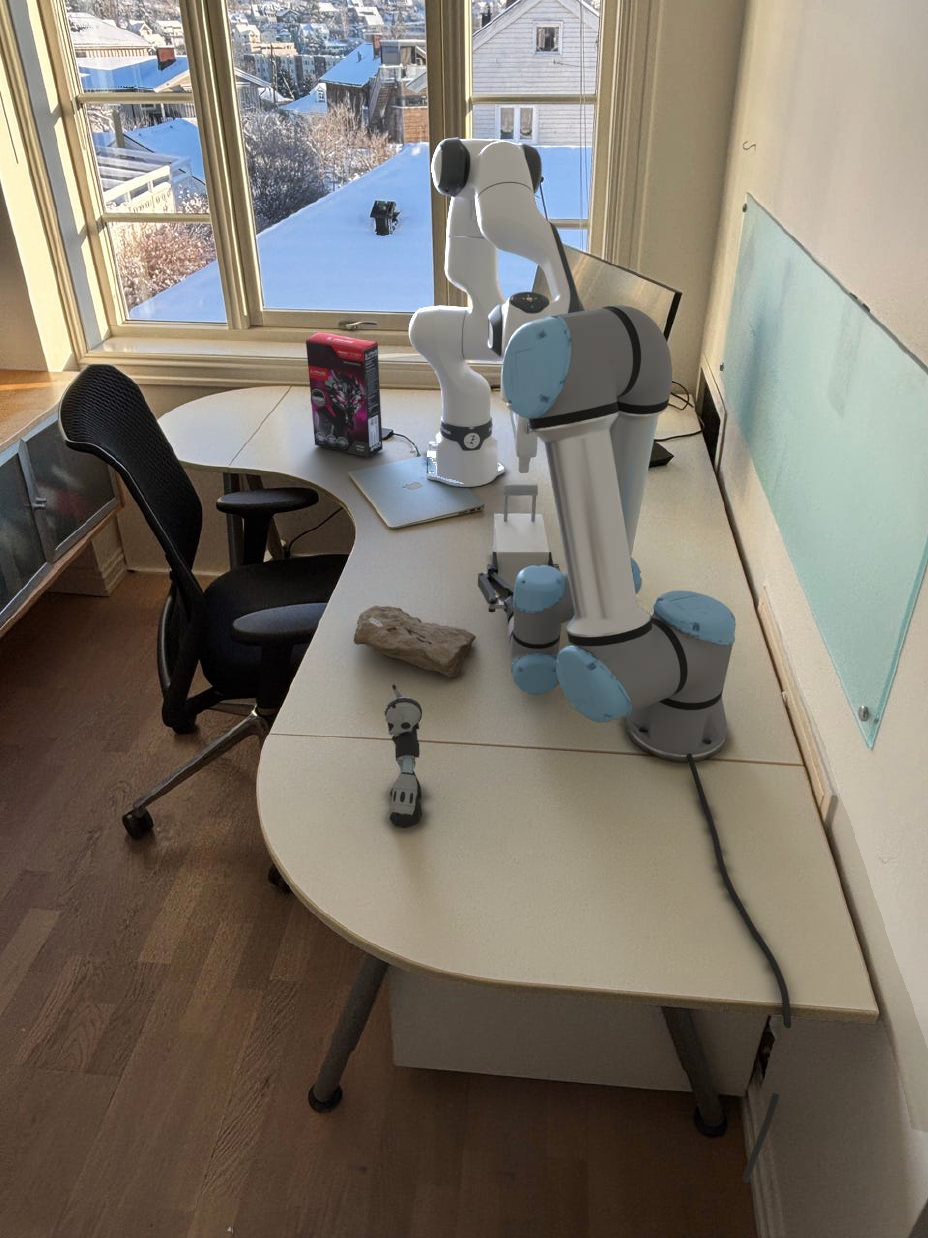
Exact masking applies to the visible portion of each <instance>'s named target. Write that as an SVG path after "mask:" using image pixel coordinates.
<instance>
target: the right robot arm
mask: <svg viewBox="0 0 928 1238" xmlns="http://www.w3.org/2000/svg"><path fill="white" fill-rule="evenodd" d="M502 367H503V368H502ZM502 367H501V370H502V378H503V387H504V391H505V395H506V398H507V400H508V402H509V403H511V404H512V405H511V408H512V409H513V411H514V412H515V413H516V414H517V415H519V416H521V417H523V418H526V419H528V420H529V425H530V430H531V432H532V433H534V434H535V435H536V436H538V439H541V440H542V442H543V443H544V446H545V453H546V458H547V464H548V470H549V476H550V481H551V482H550V483H551V488H552V492H553V498H554V499H553V500H554V503H555V505H554V506H555V510H556V515H557V522H558V526H559V533H560V538H561V543H562V544H561V545H562V549H563V555H564V562H565V566H566V567H565V568H566V571H563V572H562V571H561V568H560V565H559V563H554V561H553V555H552V551H549V562H548V566H547V565H541V566H535V565H533V566H529V567H527V568H524V569H523V570H522V571H520V573H519V574H518V575H517V578H516V583H515V587H514V586H510V585H509V584H508V583H507V582H506V581H504V580H503V579H502V578H501V577H500V576H499V575H498V562H497V552H493V551H492V554H491V556H492V557H491V558H492V559H491V562H492V563H488V564H487V565H486V573H484V572H478V573H477V587H478V588H479V591H480V592H481V594H482V596H483V598H484V600H485V602H486V603H487V605H488V607H487V608H488V613H490V614H493V613H495V612H496V610H503V611H504V613H506V619H507V620H506V621H507V629H508V630H507V631H508V641H509V647H510V659H511V660H510V662H511V669H510V670H511V672H510V673H511V674H512V678H513V681H514V684H515V686H516V687H517V689H519V690H520V691H522V692H524V693H526V694H527V695H543V694H547V693H549V692H551V691H552V690H554V688H556V687H557V685H558V684H559V685H560V688H561V690H562V691H563V694H564V695H565V697H566V698H567V700H568V701H569V703H570V704H571V705H572V706H573V707H574V709H575V710H577V712H578V713H579V714H581V715H582V716H583V717H584V718H586V719H588V720H589V721H592V722H595V723H598V724H604V723H605V724H606V723H610V722H612V721H615V720H618V719H620V718H621V719H623V718H626V719H625V728H626V732H627V734H628V736H629V738H630V739H631V741H632V742H634V744H636V745H637V746H638V747H639V748H640V749H641V750H643V751H645V752H646V753H648V754H650V755H651V756H654V757H656V758H659V759H662V760H666V761H670V762H675V763H688V765H689V768H690V772H691V774H692V778H693V781H694V783H695V787H696V791H697V794H698V796H699V800H700V803H701V806H702V809H703V812H704V815H705V818H706V822H707V825H708V828H709V831H710V833H711V834H710V835H711V838H712V843H713V846H714V853H715V857H716V861H717V865H718V868H719V872H720V874H721V877H722V880H723V882H724V885H725V887H726V889H727V891H728V894H729V895H730V898H731V900H732V902H733V903H734V905H735V907H736V909H737V910H738V913H739V914H740V916H741V918H742V920H743V922H744V924H745V925H746V927H747V929H748V931H749V932H750V934H751V936H752V938H753V939H754V940H755V942H756V943H757V945H758V946H759V949H761V951H762V953H763V954H764V956H765V957H766V960H767V961H768V964H769V965H770V967H771V969H772V971H773V973H774V976H775V979H776V981H777V984H778V987H779V991H780V997H781V1005H782V1016H783V1017H782V1020H783V1026H784V1027H785V1028H786V1029H791V1027H792V1015H791V1014H792V1013H791V1002H790V996H789V991H788V987H787V984H786V981H785V978H784V976H783V973H782V971H781V968H780V965H779V963H778V961H777V960H776V958H775V956H774V954H773V953H772V951H771V949H770V948H769V946H768V945H767V943H766V942H765V940H764V939H763V937H762V935H761V934H760V932H759V931H758V929H757V927H756V926H755V925H754V922H753V921H752V919H751V917H750V915H749V914H748V912H747V909H746V908H745V907H744V905H743V903H742V900H741V899H740V897H739V896H738V894H737V891H736V890H735V888H734V885H733V883H732V880H731V879H730V876H729V874H728V870H727V868H726V864H725V860H724V857H723V853H722V852H723V851H722V847H721V843H720V838H719V835H718V831H717V828H716V824H715V822H714V818H713V815H712V812H711V810H710V806H709V804H708V800H707V797H706V794H705V791H704V787H703V785H702V782H701V779H700V775H699V772H698V769H697V766H696V763H695V762H700V761H703V760H706V759H709V758H711V757H714V755H716V754H718V752H720V751H721V750H722V748H723V747H724V744H725V743H726V740H727V739H726V738H727V733H728V721H727V716H726V712H725V708H724V707H725V706H724V701H723V692H724V686H725V682H726V678H727V674H728V673H727V672H728V668H729V664H730V659H731V654H732V651H733V647H734V643H735V642H736V637H735V634H736V627H737V626H736V625H737V622H736V617H735V615H734V613H733V611H732V610H731V609H730V608H729V607H728V606H727V605H726V604H724V603H723V602H722V601H720V600H719V599H717V598H714V597H712V596H710V595H707V594H704V593H701V592H696V591H693V590H680V589H679V590H678V589H677V590H670V591H666V592H664V593H662V594H660V595H659V596H658V597H656V600H655V603H654V604H653V607H652V609H653V613H652V614H651V613H650V612H649V611H648V610H646V609H645V608H643V607H642V606H640V605H639V603H638V600H637V594H638V593H639V592H640V590H641V587H642V583H643V579H642V577H641V573H642V571H641V568H640V566H639V564H638V563H637V561H636V560H635V559H634V558H633V557H632V554H633V549H634V545H635V539H636V534H637V530H638V525H639V524H638V523H639V519H640V513H641V508H642V504H643V499H644V498H643V497H644V493H645V487H646V483H647V477H648V473H649V467H650V461H651V457H652V451H653V446H654V441H655V435H656V431H657V425H658V420H659V416H660V415H662V414H663V413H664V412H666V411H667V409H668V407H669V403H670V398H671V393H672V385H673V364H672V356H671V351H670V348H669V344H668V341H667V339H666V337H665V335H664V333H663V331H662V330H661V328H660V327H659V325H658V324H657V322H656V321H654V319H652V318H651V317H650V316H649V315H648V314H646V313H645V312H643V311H642V310H640V309H638V308H635V307H633V306H629V305H624V304H623V305H622V304H616V305H615V304H614V305H613V304H612V305H608V306H603V307H601V308H595V309H588V310H586V311H581V312H574V313H567V314H560V315H554V316H548V317H546V318H542V319H538V320H535V321H531V322H528V323H526V324H524V325H522V326H521V327H520V328H518V329H517V330H516V331H515V333H514V334H513V335H512V337H511V339H510V340H509V344H508V347H507V348H506V350H505V355H504V359H503V361H502ZM496 592H497V593H498V594H499V595H500V596H496ZM500 597H502V599H504V601H502V600H501V599H500ZM567 622H568V623H567ZM564 623H567V625H566V627H565V629H566V636H567V641H568V645H566V646H564V647H563V648H562V649H561V650H560V641H561V632H562V627H563V624H564ZM779 1098H780V1094H778V1093H775V1092H772V1093H771V1098H770V1101H769V1104H768V1107H767V1110H766V1113H765V1115H764V1116H765V1117H764V1120H763V1122H762V1125H761V1127H760V1130H759V1133H758V1135H757V1137H756V1141H755V1143H754V1145H753V1148H752V1150H751V1153H750V1156H749V1158H748V1161H747V1164H746V1167H745V1171H744V1173H743V1177H742V1182H743V1183H745V1184H748V1183H750V1180H751V1176H752V1175H753V1174H752V1173H753V1172H754V1171H753V1170H754V1168H755V1165H756V1162H757V1160H758V1157H759V1155H760V1152H761V1150H762V1147H763V1145H764V1142H765V1140H766V1137H767V1135H768V1132H769V1130H770V1127H771V1124H772V1121H773V1118H774V1115H775V1113H776V1109H777V1106H778V1103H779Z"/></svg>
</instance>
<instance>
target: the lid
mask: <svg viewBox="0 0 928 1238" xmlns="http://www.w3.org/2000/svg"><path fill="white" fill-rule="evenodd" d="M538 493H539V485H538V484H536V483H535V484H533V483H532V484H527V483H526V484H523V483H521V484H520V483H519V484H518V483H517V484H516V483H515V484H513V483H511V484H510V483H509V484H507V483H504V484H503V497H504V498H503V513H493V524H494V523H495V534H496V546H497V556H549V552H550V549H549V543H548V538H547V533H546V526H545V522H544V521H545V520H544V516H543V513H536V509H537V497H538V495H539V494H538ZM509 496H510V497H511V496H515V497H516V496H522V497H524V496H525V497H526V496H528V497H529V496H531V513H509V512H508V511H509Z"/></svg>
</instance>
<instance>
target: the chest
mask: <svg viewBox="0 0 928 1238" xmlns="http://www.w3.org/2000/svg"><path fill="white" fill-rule="evenodd" d="M492 542H493V547H492V553H493V552H497V546H496V534H495V523H494V522H493V541H492ZM497 562H498V575H499V576H500V577H501V578H502V579H503V580H504V581H506V582H507V583H508V584H509V585H510V586H514V587H515V583H516V578H517V575H518V574H519V573H520V571H522V570H523V569H524V568H527V567H529V566H533V565H535V566H541V565H547V566H548V562H549V556H497ZM495 593H496V596H499V597H501V596H500V595H499V594H498V593H497V592H496V591H495Z"/></svg>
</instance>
